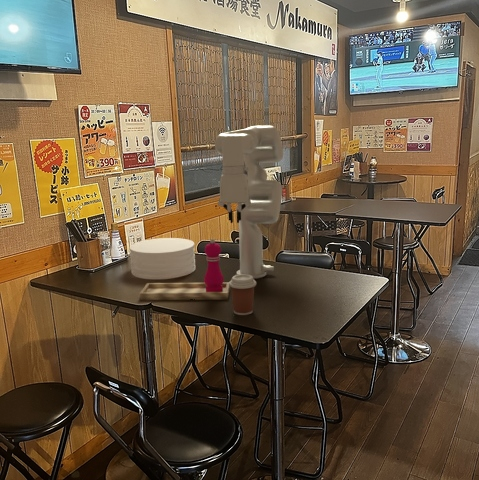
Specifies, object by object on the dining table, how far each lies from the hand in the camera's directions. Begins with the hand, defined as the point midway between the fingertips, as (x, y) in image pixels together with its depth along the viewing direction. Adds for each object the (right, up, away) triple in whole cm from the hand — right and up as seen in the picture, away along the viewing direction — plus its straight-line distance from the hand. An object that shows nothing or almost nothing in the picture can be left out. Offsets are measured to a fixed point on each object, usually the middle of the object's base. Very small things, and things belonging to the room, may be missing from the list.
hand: (234, 222), depth 172 cm
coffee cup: (+3, -31, -12) cm, 33 cm away
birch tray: (-18, -27, +7) cm, 33 cm away
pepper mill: (-8, -26, +6) cm, 28 cm away
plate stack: (-32, -20, +40) cm, 55 cm away
